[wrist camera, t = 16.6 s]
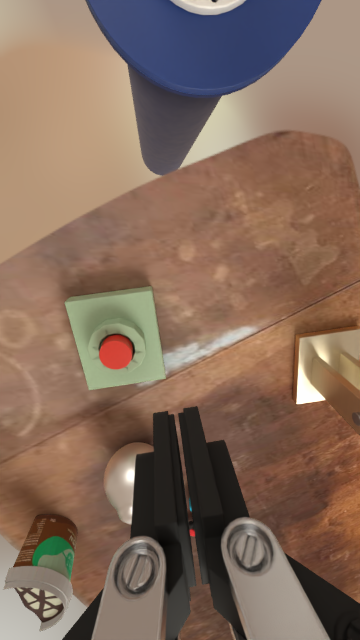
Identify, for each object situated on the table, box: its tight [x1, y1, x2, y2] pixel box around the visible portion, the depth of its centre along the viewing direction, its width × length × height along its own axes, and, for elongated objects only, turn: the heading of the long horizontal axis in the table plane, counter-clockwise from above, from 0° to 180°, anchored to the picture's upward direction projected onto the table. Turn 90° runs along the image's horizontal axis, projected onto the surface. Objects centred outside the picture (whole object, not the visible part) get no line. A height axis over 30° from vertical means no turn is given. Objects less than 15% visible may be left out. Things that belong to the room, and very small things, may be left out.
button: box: [99, 335, 133, 369], centre depth 31 cm, size 4×4×2 cm
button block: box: [65, 286, 166, 390], centre depth 34 cm, size 12×10×4 cm
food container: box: [4, 514, 78, 631], centre depth 43 cm, size 12×6×10 cm, turn 14°
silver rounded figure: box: [104, 442, 154, 524], centre depth 38 cm, size 9×10×10 cm
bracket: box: [293, 326, 360, 435], centre depth 34 cm, size 11×9×13 cm
